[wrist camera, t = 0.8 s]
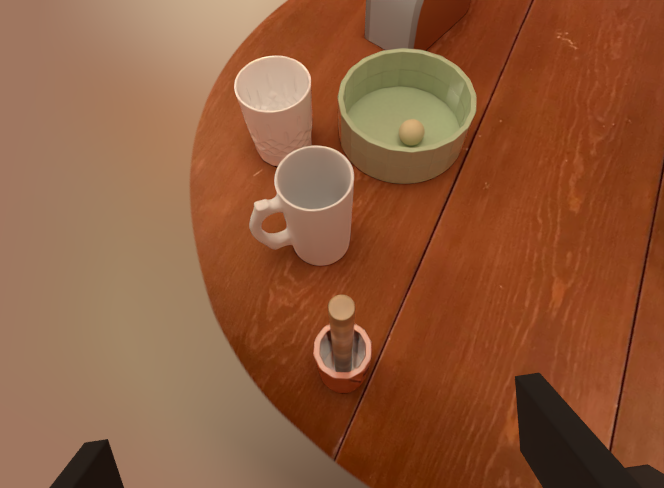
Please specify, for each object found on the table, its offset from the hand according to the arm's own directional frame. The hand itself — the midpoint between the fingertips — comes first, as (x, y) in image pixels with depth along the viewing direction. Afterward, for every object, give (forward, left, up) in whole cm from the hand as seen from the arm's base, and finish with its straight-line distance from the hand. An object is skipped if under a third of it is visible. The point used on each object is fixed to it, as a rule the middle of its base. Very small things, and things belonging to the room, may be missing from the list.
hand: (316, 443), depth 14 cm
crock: (-6, +4, -28) cm, 29 cm away
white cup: (-33, +10, -28) cm, 45 cm away
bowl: (-28, +24, -28) cm, 46 cm away
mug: (-20, +7, -28) cm, 35 cm away
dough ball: (-26, +24, -26) cm, 44 cm away
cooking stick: (-6, +4, -27) cm, 28 cm away
